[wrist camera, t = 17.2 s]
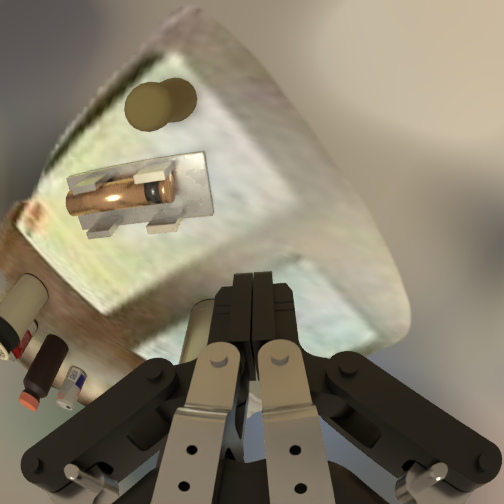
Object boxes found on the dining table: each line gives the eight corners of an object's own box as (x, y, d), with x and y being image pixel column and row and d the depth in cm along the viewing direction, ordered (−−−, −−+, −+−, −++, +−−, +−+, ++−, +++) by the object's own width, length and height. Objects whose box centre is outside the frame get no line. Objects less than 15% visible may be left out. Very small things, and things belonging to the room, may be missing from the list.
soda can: (36, 315, 57) (14, 351, 46) (40, 332, 60) (20, 367, 50) (16, 305, 55) (-7, 339, 45) (20, 322, 59) (0, 355, 49)
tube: (171, 166, 37) (163, 180, 34) (177, 193, 40) (171, 208, 37) (75, 184, 38) (62, 198, 35) (83, 206, 41) (72, 221, 38)
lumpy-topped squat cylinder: (272, 381, 65) (273, 413, 57) (229, 396, 69) (226, 425, 62) (244, 359, 60) (243, 394, 53) (200, 377, 64) (195, 409, 57)
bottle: (43, 332, 60) (10, 393, 43) (61, 335, 60) (29, 400, 43) (54, 349, 63) (25, 408, 47) (72, 353, 63) (44, 416, 46)
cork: (143, 107, 34) (105, 119, 25) (168, 69, 31) (136, 67, 22) (179, 130, 36) (152, 150, 27) (206, 93, 33) (186, 98, 24)
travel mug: (41, 274, 50) (-4, 336, 34) (53, 304, 54) (15, 365, 39) (17, 271, 50) (-27, 327, 34) (29, 299, 54) (-9, 355, 39)
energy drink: (83, 379, 70) (70, 412, 60) (68, 369, 68) (53, 402, 58) (89, 374, 68) (75, 409, 58) (73, 363, 66) (57, 398, 56)
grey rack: (213, 212, 42) (207, 232, 37) (85, 226, 44) (68, 245, 39) (204, 151, 37) (195, 162, 33) (69, 176, 39) (49, 190, 34)
